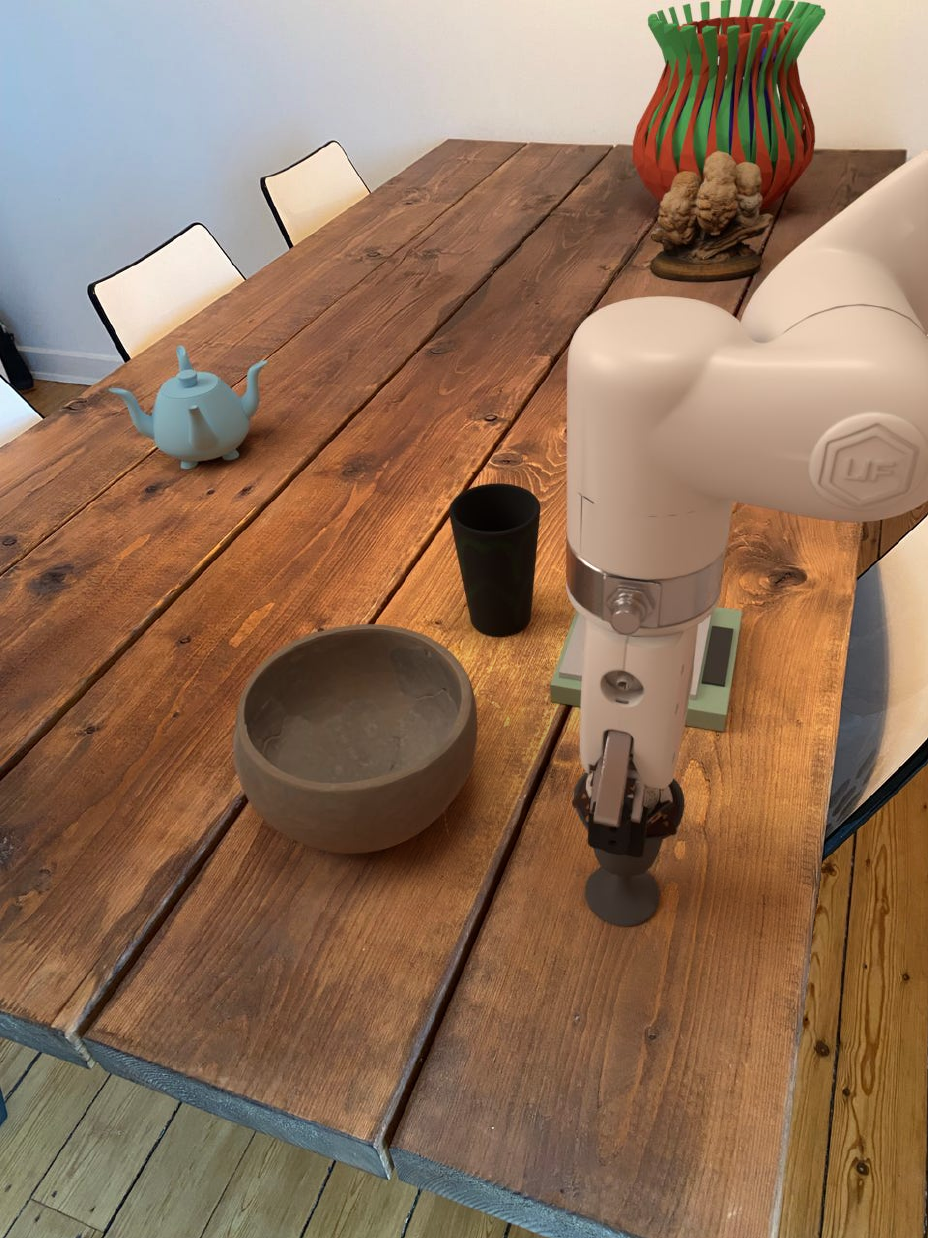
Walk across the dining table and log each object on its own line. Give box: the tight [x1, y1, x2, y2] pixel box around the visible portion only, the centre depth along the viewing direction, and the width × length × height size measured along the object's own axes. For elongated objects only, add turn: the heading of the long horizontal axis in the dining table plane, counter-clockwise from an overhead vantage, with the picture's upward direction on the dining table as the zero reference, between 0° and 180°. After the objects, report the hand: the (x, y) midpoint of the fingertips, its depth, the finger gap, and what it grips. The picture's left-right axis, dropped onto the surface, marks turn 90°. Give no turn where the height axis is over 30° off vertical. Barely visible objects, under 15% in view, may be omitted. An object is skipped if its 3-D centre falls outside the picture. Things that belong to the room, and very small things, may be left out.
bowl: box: [232, 623, 478, 855], centre depth 69 cm, size 17×18×10 cm
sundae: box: [571, 757, 686, 927], centre depth 59 cm, size 7×7×15 cm
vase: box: [632, 0, 826, 213], centre depth 160 cm, size 30×30×30 cm
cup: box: [448, 482, 541, 638], centre depth 83 cm, size 8×8×12 cm
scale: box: [549, 606, 743, 733], centre depth 80 cm, size 14×13×3 cm
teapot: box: [108, 345, 268, 470], centre depth 111 cm, size 13×13×10 cm
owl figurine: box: [649, 151, 774, 282], centre depth 143 cm, size 18×12×17 cm, turn 88°
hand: (627, 798), depth 57 cm, fingers closed on sundae, 6 cm apart
